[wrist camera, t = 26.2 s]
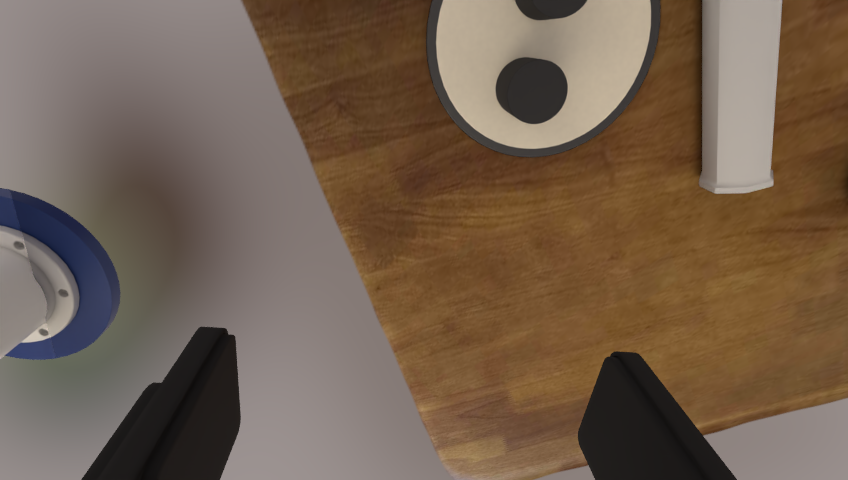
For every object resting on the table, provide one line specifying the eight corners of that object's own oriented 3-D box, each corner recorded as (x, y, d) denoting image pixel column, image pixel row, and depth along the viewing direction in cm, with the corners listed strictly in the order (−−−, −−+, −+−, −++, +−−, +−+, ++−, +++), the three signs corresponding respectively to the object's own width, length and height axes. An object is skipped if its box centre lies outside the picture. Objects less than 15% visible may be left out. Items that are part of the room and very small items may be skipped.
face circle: (413, 143, 37) (413, 145, 36) (443, -123, 29) (444, -126, 29) (615, 165, 39) (619, 167, 38) (691, -80, 31) (696, -82, 31)
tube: (710, -191, 26) (708, 198, 36) (823, -235, 24) (786, 188, 34) (687, -163, 30) (690, 175, 41) (781, -199, 28) (759, 165, 39)
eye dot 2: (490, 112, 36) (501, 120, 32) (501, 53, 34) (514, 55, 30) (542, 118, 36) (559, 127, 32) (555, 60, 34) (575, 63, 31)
